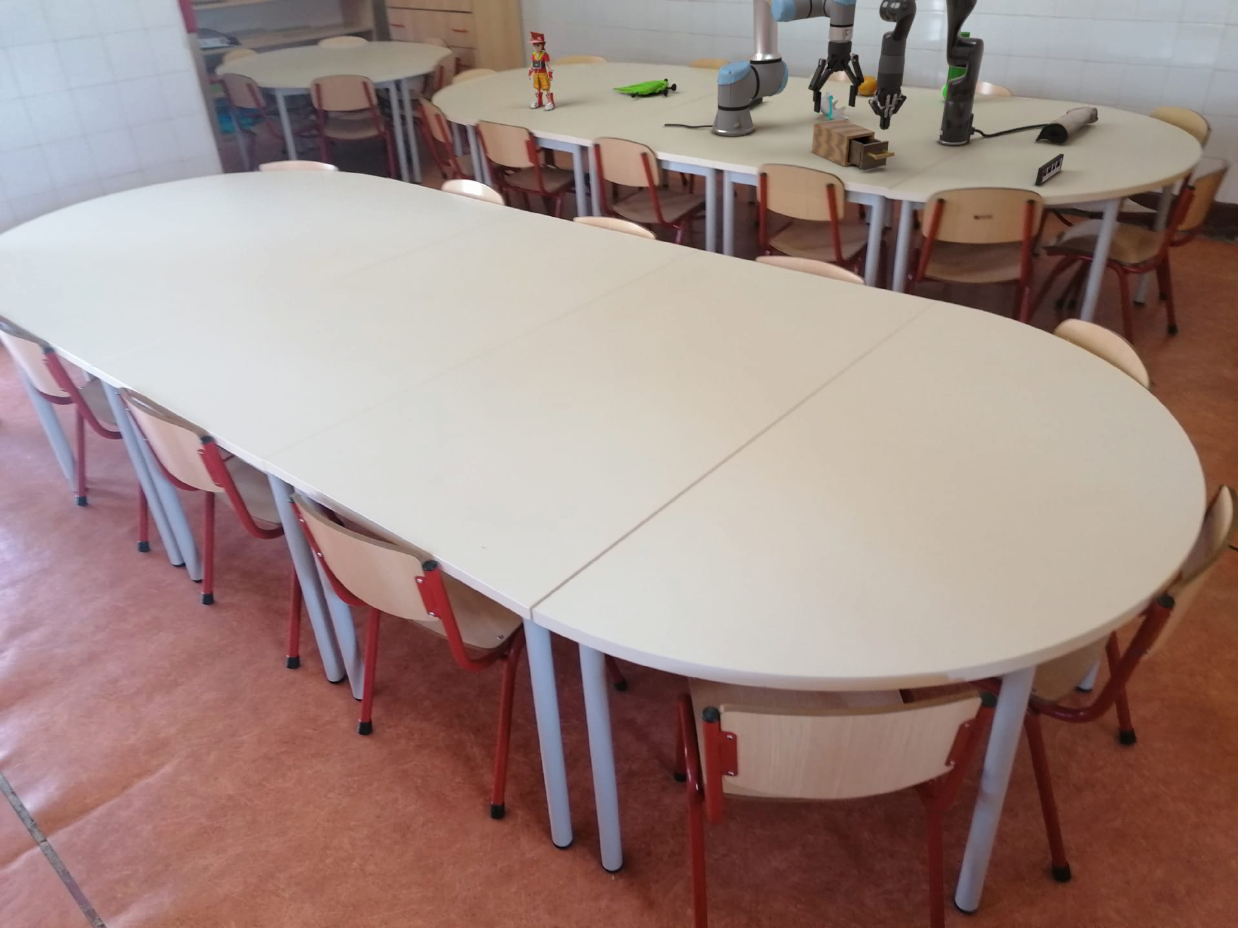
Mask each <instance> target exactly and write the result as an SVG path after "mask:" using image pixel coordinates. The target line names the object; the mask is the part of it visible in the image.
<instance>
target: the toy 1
mask: <svg viewBox="0 0 1238 928" xmlns="http://www.w3.org/2000/svg"><path fill="white" fill-rule="evenodd" d="M529 33H530V35H531V36H528V37H527V38H528V39H529V40H528V41H527V43H529V44H530V43H531V44H532V48H533V50H534V51H533V52H532V55H531V58H530V59H531V63H530V66H528V74H527V75H528V76H527V77H528V79H529V80H531V75H532V74H533V84H532V85H533V86H532V87H533V88H534V89H535V90H536V92H534V95H535V97H536V100H535V101H533V102H531V105H530V108H531V109H535V108H538V107H542V106H544V101H543V100H544V99H543V95H544V92H546V94H545V97H546V99H547V103H546V104H545V106H544V110H546V111H549V110H553V109H554V107H555V106H556V105H555V99H554V92H551V91H550V90H551V86H552V84H551V82H552V81H553V80H554V77H553V73H554V71H555V70H554V69H552V68H551V63H550V61H551V59H550V58H551V57H550V54H549V53H548V52H547V50H546V48H545V46H546V44H547V41H545V35H544V33H543V32H542V33H539V32H535V31H529Z"/></svg>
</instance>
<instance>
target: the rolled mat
mask: <svg viewBox="0 0 1238 928" xmlns="http://www.w3.org/2000/svg"><path fill="white" fill-rule="evenodd" d="M1098 111H1099V110H1098V109H1097V107H1091V106H1083V107H1074V108H1071V109H1069V110H1067V111H1066V113H1065V114H1064V115H1062V116H1059V117H1058V118H1056V119H1053V120H1052V121H1050V122H1049V124H1048V123H1046V124H1047V125H1045V126H1044V127H1041V130H1040V131H1039V134H1038V135H1037V137H1036V138H1035V142H1039V141H1042V140H1043V141H1045V140H1046V141H1048V142H1049V143H1050V144H1055V145H1061V146H1062V145H1064V144H1065V143H1066V142H1068V141H1069V140H1070V139H1071V138H1072V137H1073V135H1074V134H1075V133H1076V132H1078V131H1079V130H1080V129H1082V128H1083V127H1084V126H1085V125H1090V124H1094V123H1096V122H1098V120H1099V117H1098V115H1099V114H1098Z"/></svg>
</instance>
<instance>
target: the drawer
mask: <svg viewBox="0 0 1238 928" xmlns="http://www.w3.org/2000/svg"><path fill="white" fill-rule="evenodd" d="M889 143H890V142H889V140H880V139H878V138H875V137H874V138H873V137H870V136H865V137H859V138H854V139H849V149H848V160H847V161H849V162H851V163H853V164H855V165H856V166H857V167H859V170H860V171H862V170H867V169H874V168H878V167H885V166H886V165H887V161H888V158H891V157H895V155H896V154H895V151H889Z"/></svg>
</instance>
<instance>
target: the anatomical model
mask: <svg viewBox="0 0 1238 928" xmlns="http://www.w3.org/2000/svg"><path fill="white" fill-rule="evenodd" d="M833 100H834V96H833V94H831V93H830V92H829V91H826V92H825V94H824V96H821V107H820V113H822V114H825V115H826V116H827V119H828V121H829V120H835V119H843V120H845V121H849V120H850V119H851V117H850V116H846V115H844V111H845V110H846V109H847V107H846V106H841V107H839V108H836V105H837V103H838V102H839V100H838V99H836V100H834V101H833Z"/></svg>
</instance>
